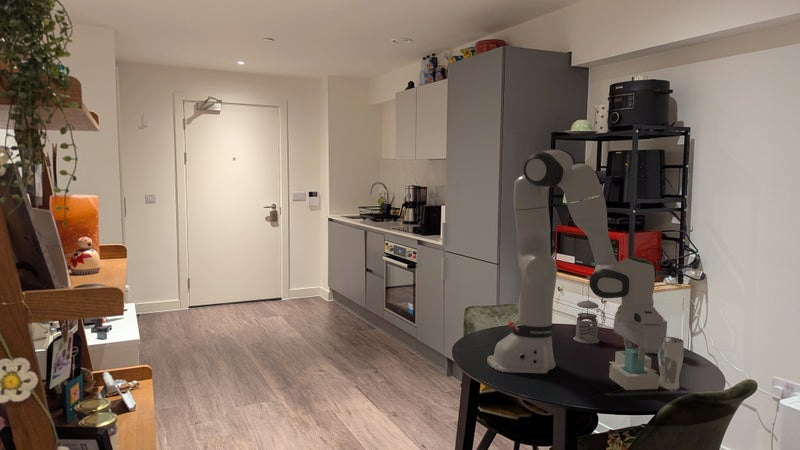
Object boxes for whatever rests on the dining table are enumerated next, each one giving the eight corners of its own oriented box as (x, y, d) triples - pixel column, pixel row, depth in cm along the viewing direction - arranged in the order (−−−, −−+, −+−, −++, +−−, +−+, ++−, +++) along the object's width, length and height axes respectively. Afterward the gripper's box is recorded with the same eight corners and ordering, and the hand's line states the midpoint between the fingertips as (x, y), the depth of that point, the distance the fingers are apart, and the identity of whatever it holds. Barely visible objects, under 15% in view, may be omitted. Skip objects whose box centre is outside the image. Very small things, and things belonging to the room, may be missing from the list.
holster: (625, 375, 178) (626, 361, 177) (608, 364, 188) (609, 350, 188) (657, 374, 179) (658, 360, 179) (638, 363, 190) (639, 349, 190)
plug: (630, 385, 167) (632, 352, 166) (623, 380, 171) (625, 348, 170) (643, 384, 167) (645, 352, 166) (635, 379, 171) (637, 348, 170)
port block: (626, 393, 163) (627, 376, 163) (609, 380, 173) (609, 365, 173) (658, 391, 165) (658, 375, 164) (639, 379, 174) (639, 363, 174)
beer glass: (673, 383, 171) (676, 336, 170) (686, 392, 164) (689, 343, 163) (651, 383, 171) (654, 336, 170) (662, 392, 164) (665, 343, 163)
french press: (570, 335, 222) (572, 273, 219) (599, 336, 221) (602, 274, 219) (576, 343, 212) (579, 278, 210) (607, 343, 211) (611, 278, 209)
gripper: (609, 303, 177) (607, 345, 178) (646, 320, 156) (643, 368, 158) (628, 303, 177) (625, 345, 179) (667, 319, 157) (664, 367, 159)
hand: (634, 356), depth 168 cm, fingers open, 5 cm apart
